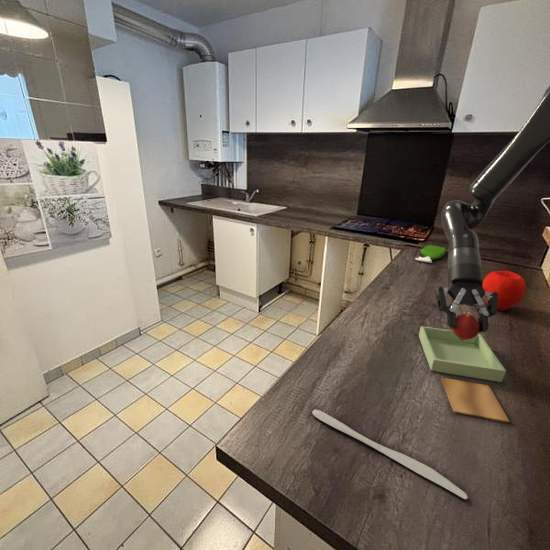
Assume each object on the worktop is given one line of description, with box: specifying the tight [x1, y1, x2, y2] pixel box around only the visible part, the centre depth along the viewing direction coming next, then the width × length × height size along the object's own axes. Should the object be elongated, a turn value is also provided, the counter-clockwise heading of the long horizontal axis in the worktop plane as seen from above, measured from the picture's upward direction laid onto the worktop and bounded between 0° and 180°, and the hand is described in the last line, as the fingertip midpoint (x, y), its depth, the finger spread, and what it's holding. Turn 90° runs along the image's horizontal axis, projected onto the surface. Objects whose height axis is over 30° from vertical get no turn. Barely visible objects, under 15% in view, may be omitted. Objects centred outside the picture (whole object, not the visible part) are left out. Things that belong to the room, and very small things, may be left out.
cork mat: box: [440, 377, 510, 424], centre depth 63 cm, size 10×10×1 cm
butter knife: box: [311, 409, 468, 500], centre depth 52 cm, size 1×27×3 cm
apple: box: [483, 270, 527, 312], centre depth 98 cm, size 12×12×13 cm
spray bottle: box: [414, 244, 447, 264], centre depth 149 cm, size 3×11×24 cm
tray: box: [418, 325, 507, 383], centre depth 76 cm, size 15×15×3 cm
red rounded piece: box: [451, 311, 480, 340], centre depth 73 cm, size 6×6×8 cm
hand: (467, 329), depth 71 cm, fingers closed on red rounded piece, 6 cm apart
